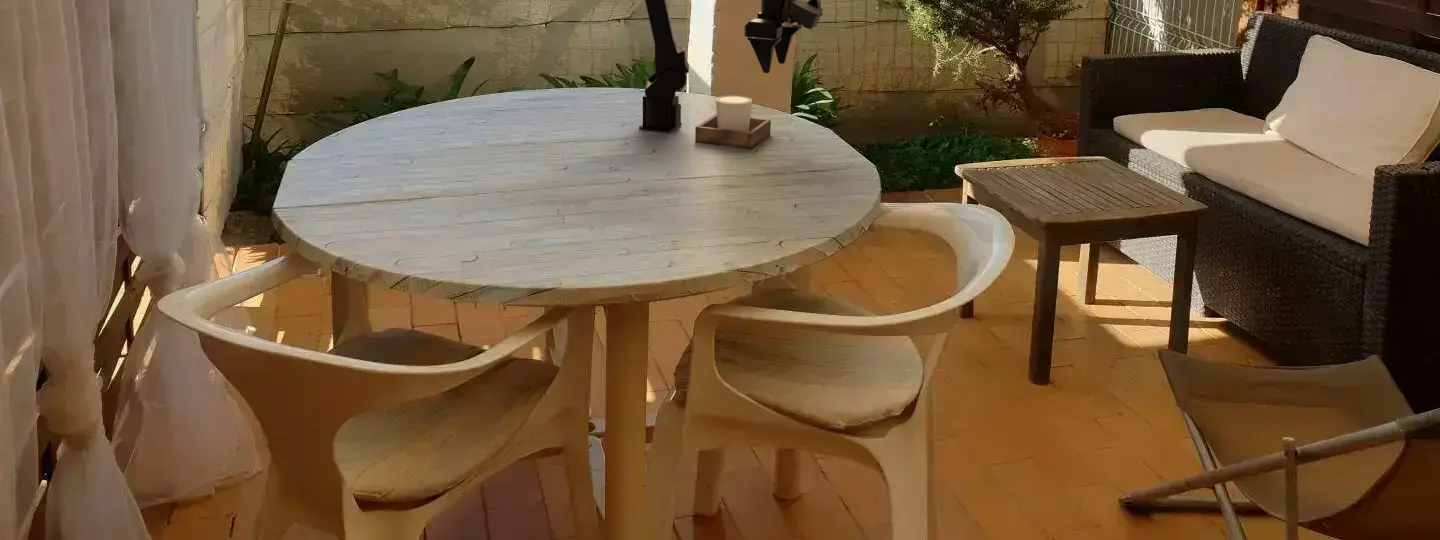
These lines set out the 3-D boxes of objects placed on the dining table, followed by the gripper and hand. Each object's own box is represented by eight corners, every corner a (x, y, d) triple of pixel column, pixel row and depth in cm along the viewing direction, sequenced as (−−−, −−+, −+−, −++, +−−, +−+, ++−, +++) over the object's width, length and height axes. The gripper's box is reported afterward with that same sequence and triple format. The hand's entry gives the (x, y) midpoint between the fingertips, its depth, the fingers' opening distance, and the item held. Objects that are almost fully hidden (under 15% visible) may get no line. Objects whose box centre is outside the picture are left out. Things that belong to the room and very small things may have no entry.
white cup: (753, 131, 240) (754, 95, 237) (749, 141, 234) (750, 104, 231) (717, 129, 241) (718, 93, 238) (712, 139, 234) (713, 102, 232)
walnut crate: (695, 142, 234) (695, 126, 233) (716, 128, 244) (716, 113, 243) (751, 149, 231) (751, 133, 230) (770, 135, 240) (770, 119, 239)
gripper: (804, -5, 223) (800, 82, 229) (833, -19, 240) (828, 62, 245) (744, -10, 227) (742, 76, 233) (777, -23, 243) (774, 57, 249)
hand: (774, 68), depth 240 cm, fingers open, 9 cm apart
